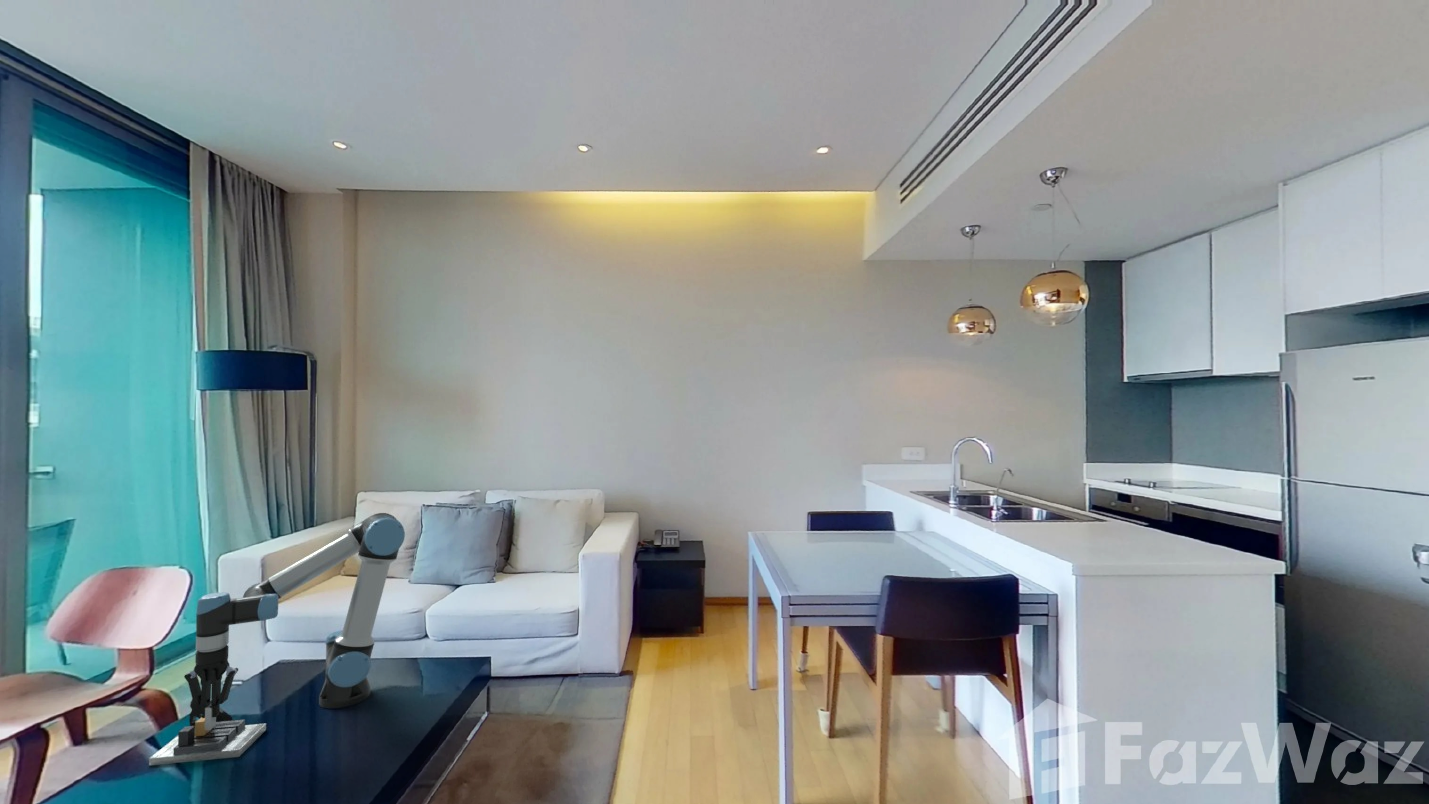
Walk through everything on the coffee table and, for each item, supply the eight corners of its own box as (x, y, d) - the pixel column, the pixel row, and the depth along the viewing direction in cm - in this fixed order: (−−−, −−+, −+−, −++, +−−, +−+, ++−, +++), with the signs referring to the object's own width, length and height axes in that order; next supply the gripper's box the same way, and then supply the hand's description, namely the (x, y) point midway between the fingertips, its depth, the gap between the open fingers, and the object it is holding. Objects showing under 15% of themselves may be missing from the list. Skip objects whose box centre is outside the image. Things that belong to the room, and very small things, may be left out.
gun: (217, 750, 187) (230, 722, 186) (179, 721, 190) (192, 694, 189) (226, 745, 190) (239, 718, 189) (189, 716, 193) (201, 689, 192)
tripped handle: (210, 730, 180) (210, 716, 180) (204, 735, 177) (204, 721, 177) (201, 730, 180) (201, 717, 180) (194, 736, 177) (195, 722, 177)
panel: (265, 729, 189) (266, 703, 189) (239, 756, 174) (239, 728, 174) (183, 737, 184) (184, 710, 184) (149, 765, 169) (149, 736, 169)
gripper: (244, 641, 184) (242, 719, 184) (194, 644, 182) (192, 723, 181) (230, 650, 177) (228, 732, 177) (178, 653, 174) (176, 736, 174)
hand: (210, 727), depth 179 cm, fingers closed
